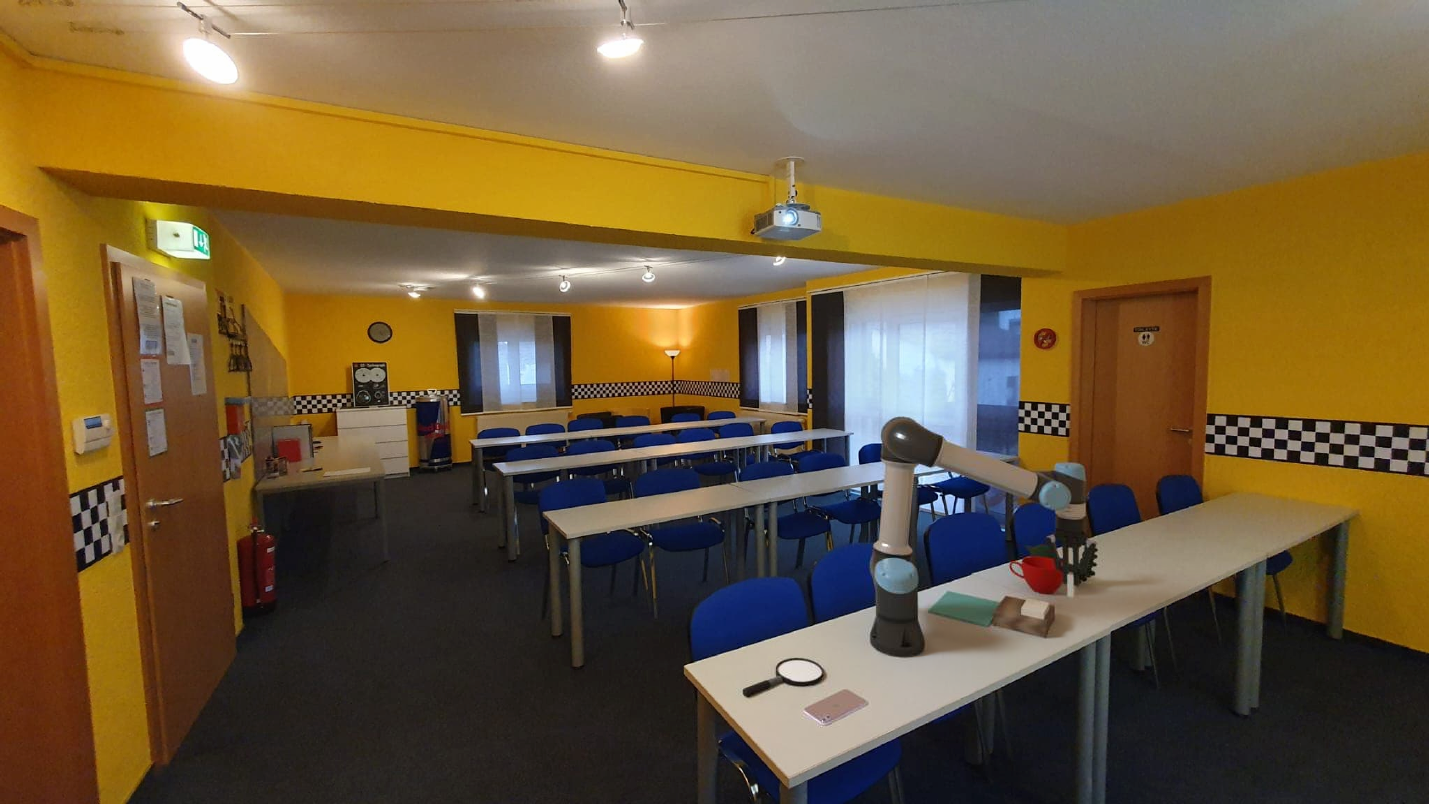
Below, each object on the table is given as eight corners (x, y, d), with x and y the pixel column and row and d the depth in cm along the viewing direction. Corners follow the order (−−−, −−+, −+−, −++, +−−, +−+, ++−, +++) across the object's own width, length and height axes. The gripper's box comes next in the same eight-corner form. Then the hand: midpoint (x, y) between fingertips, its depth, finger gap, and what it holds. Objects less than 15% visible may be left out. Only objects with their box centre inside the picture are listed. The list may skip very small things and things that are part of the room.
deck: (993, 625, 174) (993, 612, 174) (1005, 607, 187) (1005, 595, 186) (1045, 638, 166) (1045, 624, 165) (1054, 618, 178) (1054, 605, 178)
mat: (928, 612, 185) (928, 610, 185) (947, 592, 200) (947, 590, 200) (987, 627, 173) (987, 625, 173) (1003, 604, 189) (1003, 603, 189)
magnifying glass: (730, 686, 147) (730, 678, 147) (801, 659, 160) (801, 652, 159) (760, 709, 136) (759, 701, 136) (833, 679, 149) (833, 671, 149)
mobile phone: (869, 701, 137) (823, 724, 128) (869, 705, 137) (823, 728, 128) (845, 686, 143) (800, 708, 135) (845, 690, 143) (801, 712, 135)
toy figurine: (1098, 589, 203) (1030, 563, 224) (1104, 538, 200) (1034, 517, 222) (1083, 595, 198) (1015, 568, 220) (1089, 543, 195) (1019, 521, 217)
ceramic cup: (1012, 579, 211) (1012, 552, 210) (1065, 588, 201) (1066, 560, 200) (1006, 590, 200) (1006, 563, 200) (1062, 601, 190) (1063, 571, 190)
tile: (1021, 614, 172) (1021, 608, 172) (1027, 604, 179) (1027, 598, 179) (1043, 619, 169) (1043, 612, 168) (1049, 609, 176) (1049, 602, 175)
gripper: (1042, 516, 168) (1043, 594, 169) (1095, 522, 159) (1096, 604, 161) (1047, 510, 173) (1048, 586, 175) (1098, 516, 165) (1099, 595, 167)
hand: (1071, 595), depth 168 cm, fingers closed
